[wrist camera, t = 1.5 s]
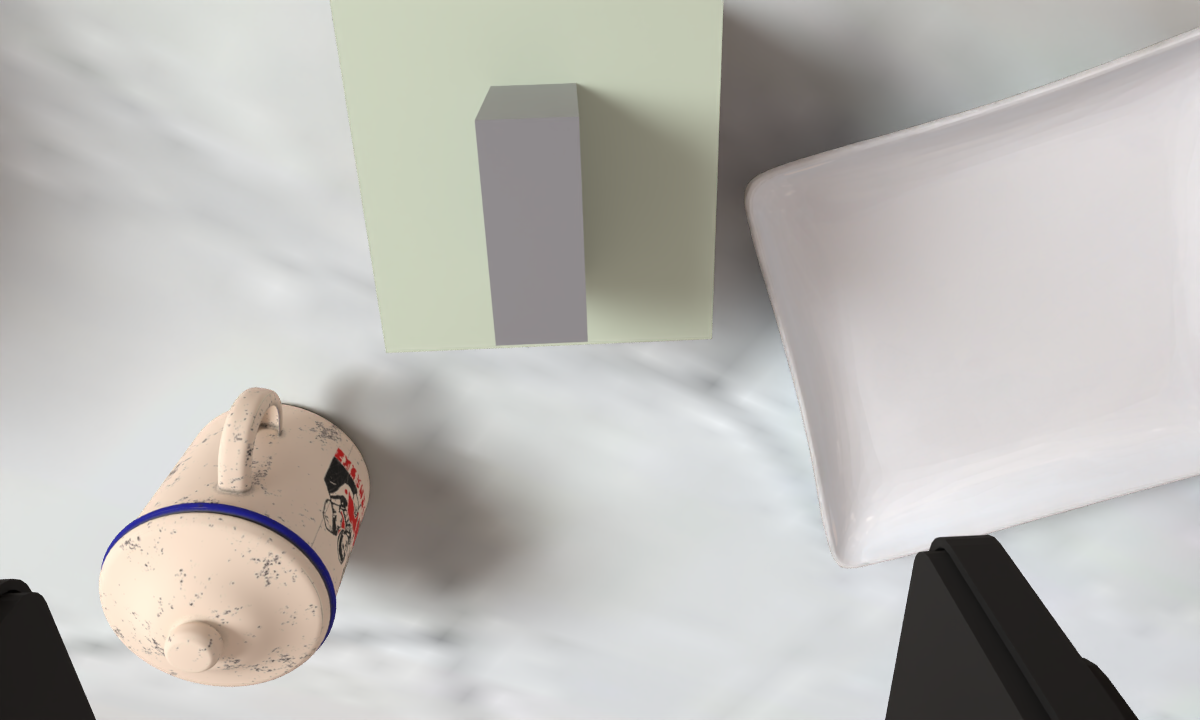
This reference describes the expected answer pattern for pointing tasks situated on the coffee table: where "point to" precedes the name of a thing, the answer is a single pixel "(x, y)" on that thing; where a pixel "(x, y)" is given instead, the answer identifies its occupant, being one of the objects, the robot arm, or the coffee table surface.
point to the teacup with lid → (240, 547)
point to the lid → (536, 167)
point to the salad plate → (995, 306)
